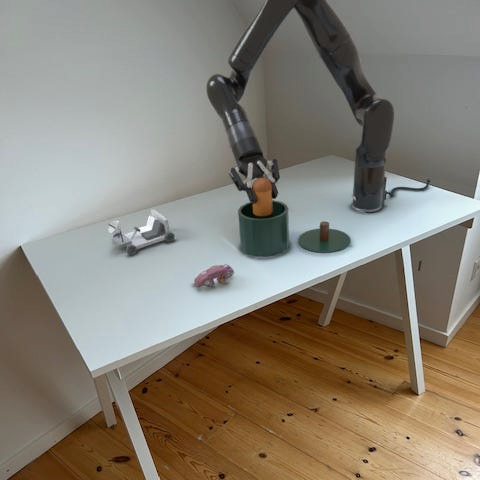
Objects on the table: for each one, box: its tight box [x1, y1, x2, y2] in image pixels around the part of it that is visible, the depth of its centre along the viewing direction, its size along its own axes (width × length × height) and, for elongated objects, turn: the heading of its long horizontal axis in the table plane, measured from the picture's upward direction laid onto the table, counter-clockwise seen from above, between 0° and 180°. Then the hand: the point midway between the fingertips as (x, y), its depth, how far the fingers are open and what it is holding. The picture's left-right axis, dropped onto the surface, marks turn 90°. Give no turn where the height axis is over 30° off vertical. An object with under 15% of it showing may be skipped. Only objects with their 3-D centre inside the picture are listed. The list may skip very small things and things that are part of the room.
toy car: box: [108, 208, 175, 256], centre depth 145 cm, size 18×10×12 cm
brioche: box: [251, 178, 273, 216], centre depth 131 cm, size 5×5×10 cm
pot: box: [237, 199, 290, 258], centre depth 136 cm, size 14×14×12 cm
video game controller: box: [193, 263, 235, 289], centre depth 123 cm, size 10×5×7 cm, turn 118°
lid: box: [297, 220, 351, 254], centre depth 137 cm, size 15×15×6 cm
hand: (265, 199), depth 130 cm, fingers closed on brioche, 5 cm apart
